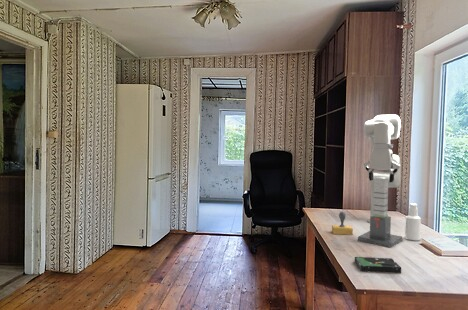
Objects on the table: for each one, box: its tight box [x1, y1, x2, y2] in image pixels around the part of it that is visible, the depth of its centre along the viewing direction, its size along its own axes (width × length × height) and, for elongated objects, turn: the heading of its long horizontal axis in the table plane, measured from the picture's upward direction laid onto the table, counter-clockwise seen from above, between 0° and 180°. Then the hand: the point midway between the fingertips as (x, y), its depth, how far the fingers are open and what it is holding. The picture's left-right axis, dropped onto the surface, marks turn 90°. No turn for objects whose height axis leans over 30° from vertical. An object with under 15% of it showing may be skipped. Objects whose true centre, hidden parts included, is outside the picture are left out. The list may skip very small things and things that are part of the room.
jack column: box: [373, 177, 389, 219], centre depth 164 cm, size 5×5×22 cm
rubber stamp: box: [331, 211, 354, 236], centre depth 178 cm, size 10×6×12 cm, turn 84°
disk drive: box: [354, 256, 402, 274], centre depth 129 cm, size 10×3×15 cm
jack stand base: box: [357, 215, 403, 248], centre depth 165 cm, size 16×16×12 cm
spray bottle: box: [405, 202, 422, 241], centre depth 168 cm, size 7×7×18 cm
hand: (381, 181), depth 165 cm, fingers open, 9 cm apart
